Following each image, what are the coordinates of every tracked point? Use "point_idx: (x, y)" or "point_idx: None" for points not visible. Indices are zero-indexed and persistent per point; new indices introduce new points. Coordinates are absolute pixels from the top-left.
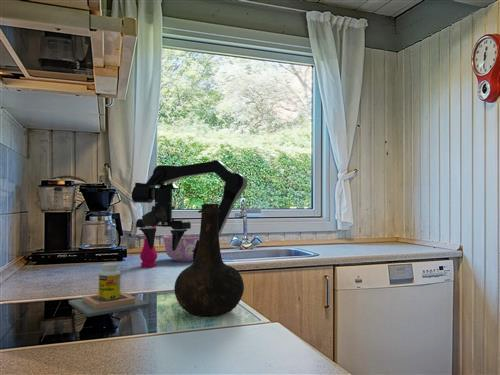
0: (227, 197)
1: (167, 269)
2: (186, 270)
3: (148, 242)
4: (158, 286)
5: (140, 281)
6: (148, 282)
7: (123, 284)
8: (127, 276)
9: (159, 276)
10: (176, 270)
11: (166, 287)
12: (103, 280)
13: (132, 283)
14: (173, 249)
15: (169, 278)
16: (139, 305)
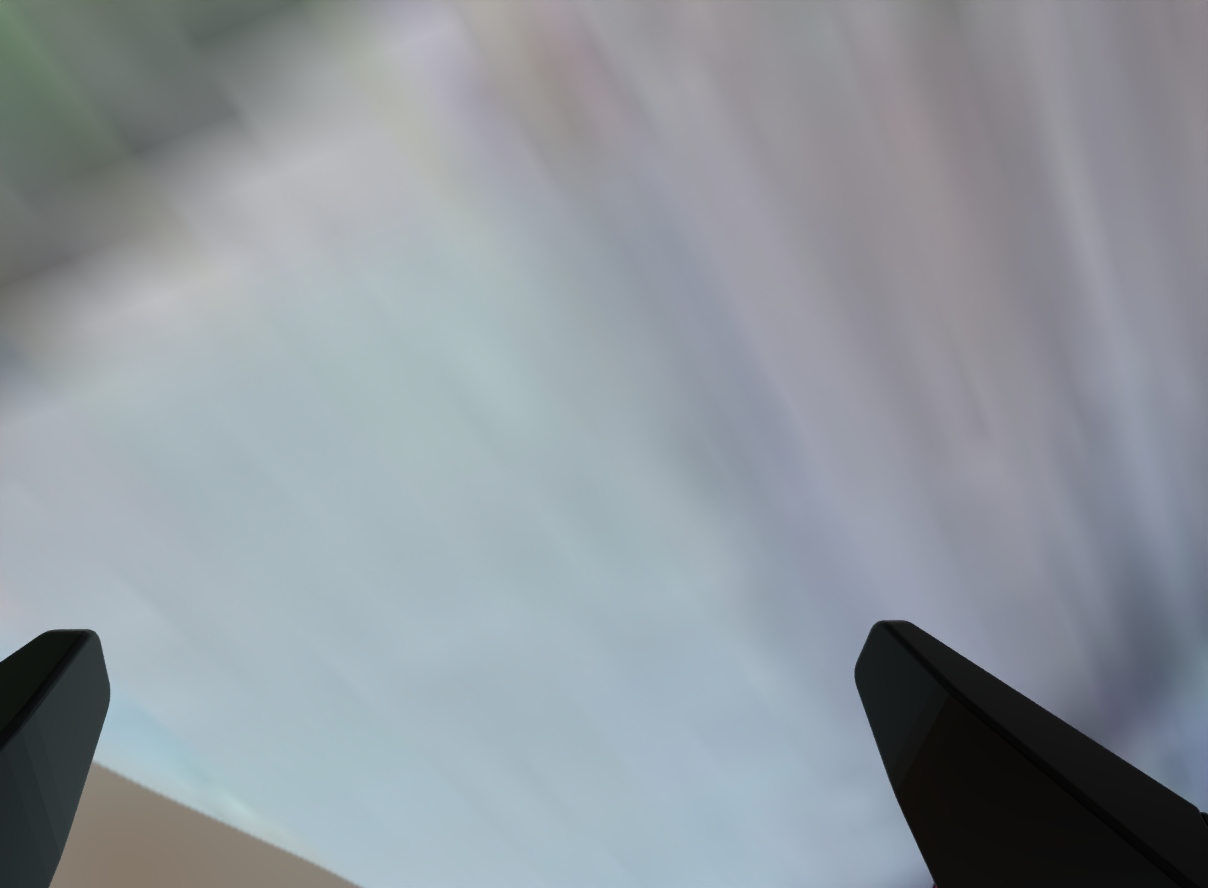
0: None
1: (803, 873)
2: None
3: (1060, 733)
4: (511, 276)
5: (840, 424)
6: (735, 416)
7: (970, 214)
8: (1044, 554)
9: (751, 671)
10: (716, 880)
11: (377, 262)
12: None
13: (887, 303)
14: (18, 653)
15: (615, 647)
16: None
